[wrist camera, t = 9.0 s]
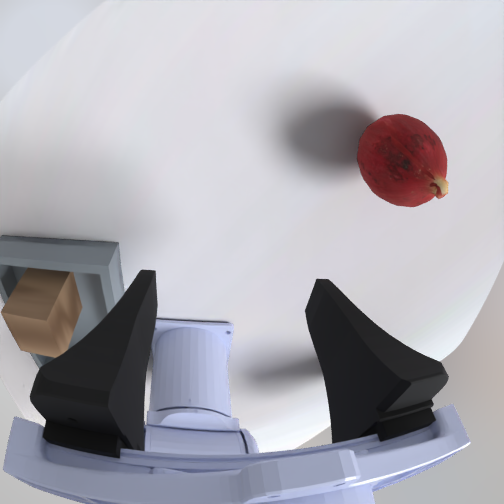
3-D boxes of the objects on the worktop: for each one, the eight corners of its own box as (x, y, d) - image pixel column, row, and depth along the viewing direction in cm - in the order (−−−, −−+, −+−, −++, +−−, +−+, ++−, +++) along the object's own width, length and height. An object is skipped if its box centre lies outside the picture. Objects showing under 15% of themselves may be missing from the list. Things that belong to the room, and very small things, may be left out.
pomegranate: (325, 158, 20) (379, 210, 13) (364, 90, 17) (438, 112, 11) (382, 191, 22) (440, 248, 15) (418, 132, 19) (490, 171, 13)
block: (82, 307, 24) (64, 359, 19) (42, 301, 23) (20, 350, 18) (72, 267, 21) (46, 320, 16) (30, 263, 21) (0, 312, 16)
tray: (138, 363, 30) (135, 385, 28) (46, 350, 28) (39, 369, 26) (118, 242, 22) (108, 266, 19) (2, 235, 19) (-15, 254, 17)
